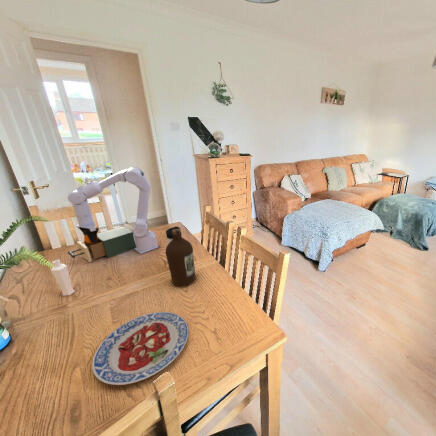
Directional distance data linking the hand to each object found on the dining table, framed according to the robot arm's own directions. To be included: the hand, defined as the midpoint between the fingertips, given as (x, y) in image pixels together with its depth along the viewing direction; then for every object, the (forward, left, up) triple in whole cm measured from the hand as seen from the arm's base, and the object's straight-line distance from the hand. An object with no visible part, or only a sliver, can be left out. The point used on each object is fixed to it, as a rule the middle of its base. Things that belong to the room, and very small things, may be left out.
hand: (91, 240), depth 118 cm
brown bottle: (-16, +52, -10) cm, 55 cm away
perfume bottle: (+17, +23, -10) cm, 30 cm away
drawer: (+1, 0, -8) cm, 8 cm away
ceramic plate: (+11, +73, -10) cm, 75 cm away
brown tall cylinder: (-21, +40, -10) cm, 46 cm away
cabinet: (-10, 0, -9) cm, 13 cm away
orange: (0, 0, -1) cm, 1 cm away
